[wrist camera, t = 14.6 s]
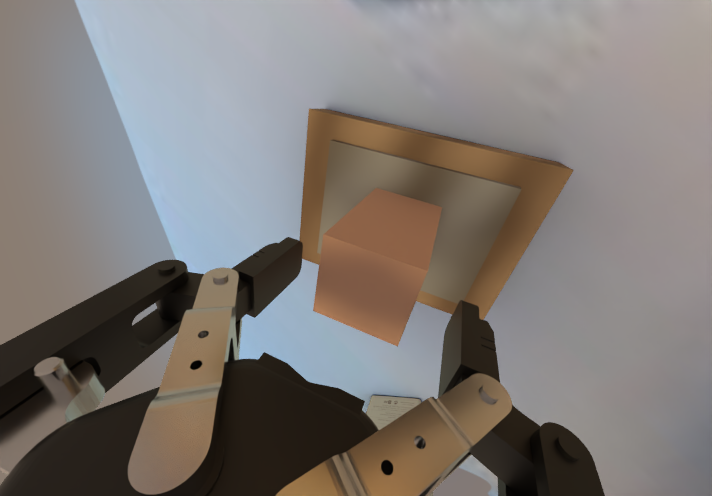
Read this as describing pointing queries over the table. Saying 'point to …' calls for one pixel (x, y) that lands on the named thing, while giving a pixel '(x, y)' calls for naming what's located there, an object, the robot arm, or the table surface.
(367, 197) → the terracotta block
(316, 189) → the walnut plinth
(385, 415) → the small box
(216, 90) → the table surface
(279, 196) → the table surface
